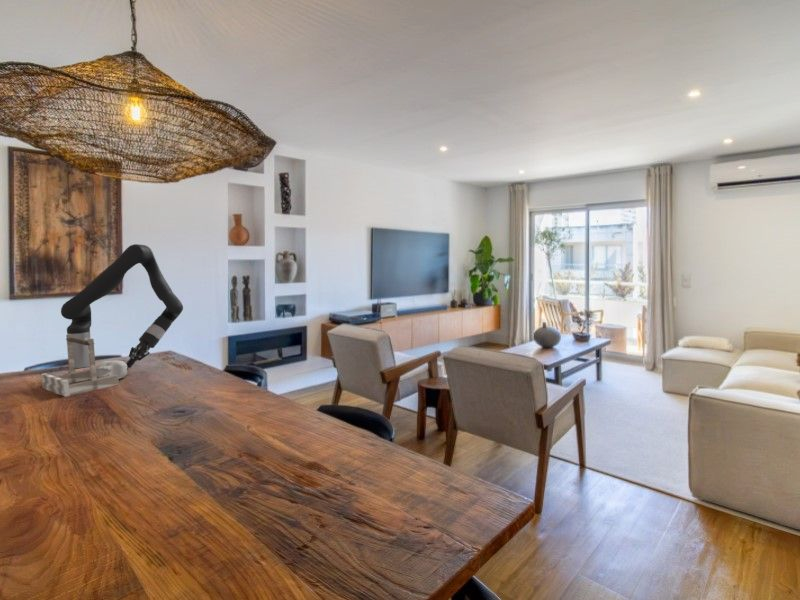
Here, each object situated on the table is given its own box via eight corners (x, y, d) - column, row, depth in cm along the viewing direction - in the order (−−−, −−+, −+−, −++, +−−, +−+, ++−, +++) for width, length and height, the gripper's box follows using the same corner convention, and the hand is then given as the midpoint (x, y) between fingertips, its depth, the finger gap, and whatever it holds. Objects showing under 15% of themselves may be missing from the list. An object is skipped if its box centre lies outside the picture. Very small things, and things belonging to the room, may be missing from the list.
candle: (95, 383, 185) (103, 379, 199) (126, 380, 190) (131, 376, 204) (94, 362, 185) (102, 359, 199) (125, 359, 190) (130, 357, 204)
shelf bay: (42, 388, 182) (38, 338, 180) (95, 377, 198) (91, 331, 196) (65, 396, 170) (60, 343, 168) (118, 384, 186) (115, 335, 184)
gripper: (138, 330, 209) (113, 360, 200) (154, 332, 202) (128, 364, 193) (150, 339, 214) (126, 369, 205) (166, 341, 207) (141, 373, 198)
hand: (127, 366), depth 199 cm, fingers closed
